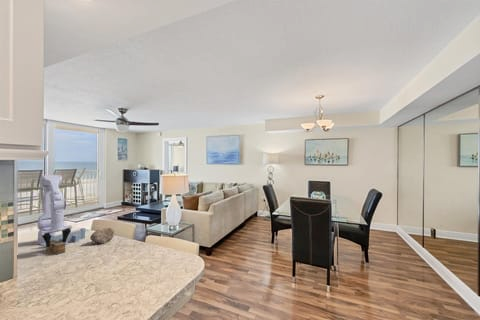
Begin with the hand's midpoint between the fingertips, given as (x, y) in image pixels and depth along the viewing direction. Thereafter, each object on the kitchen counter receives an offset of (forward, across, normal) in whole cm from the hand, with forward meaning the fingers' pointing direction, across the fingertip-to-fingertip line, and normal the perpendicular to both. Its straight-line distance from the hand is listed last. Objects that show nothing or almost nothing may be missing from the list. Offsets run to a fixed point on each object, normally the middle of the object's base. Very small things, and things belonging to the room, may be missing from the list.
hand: (56, 244), depth 122 cm
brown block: (+4, 0, 0) cm, 4 cm away
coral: (+4, +22, -8) cm, 24 cm away
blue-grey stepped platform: (+4, +11, +10) cm, 15 cm away
